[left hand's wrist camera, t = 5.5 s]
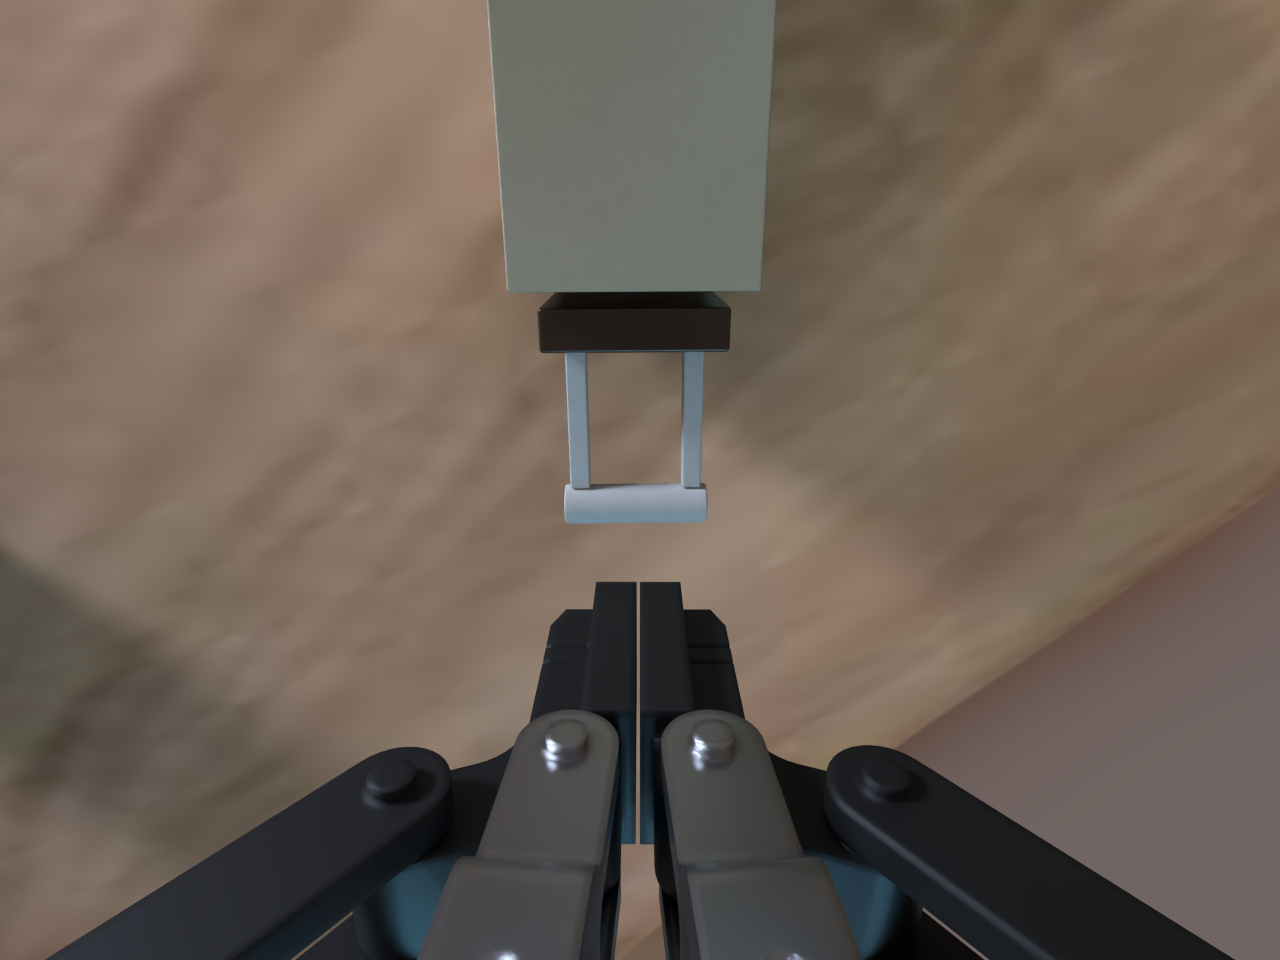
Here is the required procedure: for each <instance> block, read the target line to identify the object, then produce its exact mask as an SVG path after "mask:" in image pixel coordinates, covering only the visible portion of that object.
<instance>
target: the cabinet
mask: <svg viewBox="0 0 1280 960" xmlns="http://www.w3.org/2000/svg"><path fill="white" fill-rule="evenodd" d="M776 2H777V0H487V9H488V23H489V38H490V52H491V66H492V81H493V95H494V109H495V124H496V138H497V152H498V167H499V181H500V195H501V210H502V224H503V238H504V253H505V267H506V281H507V291H508V292H653V291H760V290H761V282H762V263H763V244H764V226H765V207H766V189H767V170H768V151H769V133H770V114H771V95H772V77H773V58H774V40H775V21H776Z"/></svg>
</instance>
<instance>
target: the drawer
mask: <svg viewBox="0 0 1280 960" xmlns="http://www.w3.org/2000/svg"><path fill="white" fill-rule="evenodd" d="M730 323H731V309H730V307H729V306H728V305H727V304H725V303H724V302H723V301H722V300H721V299H720V298H719V297H718V296H717V295H716V294H715V293H714V292H713V291H653V292H555V293H554V294H553V295H552V296H551V297H550V298H549V299H548V300H547V301H546V302H545V303H544V304H543V305H542V306H541V307H540V308H539V309H538V328H539V346H540V351H541V352H542V353H565V362H566V385H567V409H568V432H569V455H570V479H571V484H567V485H566V487H565V495H564V511H565V520H566V523H659V522H705V521H706V519H707V489H706V485H705V483H701V448H702V411H703V373H704V352H727V351H728V350H729V348H730ZM625 352H683V361H682V423H681V483H655V484H590V483H591V474H590V443H589V411H588V380H587V353H625Z"/></svg>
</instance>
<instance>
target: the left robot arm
mask: <svg viewBox="0 0 1280 960" xmlns="http://www.w3.org/2000/svg"><path fill="white" fill-rule="evenodd" d="M636 703H637V589H636V582H596V588H595V596H594V605H593V609H566V610H565V611H564V612H563V613H562V614H561V616H560V617H559V618H558V619H557V620H556V621H555V622H554V623H553V624H552V625H551V627H550V632H549V636H548V641H547V648H546V650H545V655H544V659H543V664H542V668H541V673H540V677H539V682H538V687H537V691H536V696H535V700H534V705H533V709H532V714H531V719H530V723H529V724H528V725H527V726H525V727H524V728H523V729H522V731H521V732H520V733H519V735H518V737H517V739H516V741H515V744H514V746H513V747H512V748H510V749H509V750H507V751H506V752H504V753H503V754H501V755H499V756H497V757H495V758H492V759H490V760H488V761H485V762H481V763H478V764H474V765H470V766H466V767H462V768H458V769H454V770H450V768H449V766H448V764H447V762H446V761H445V759H444V758H442V757H441V756H440V755H439V754H437V753H435V752H434V751H431V750H428V749H425V748H419V747H401V748H394V749H389V750H386V751H383V752H380V753H377V754H375V755H373V756H370V757H368V758H367V759H365V760H363V761H361V762H360V763H358V764H356V765H355V766H353V767H352V768H350V769H348V770H347V771H345V772H344V773H342V774H340V775H339V776H337V777H336V778H334V779H332V780H331V781H329V782H328V783H326V784H325V785H323V786H321V787H320V788H318V789H317V790H315V791H313V792H312V793H310V794H309V795H307V796H305V797H304V798H302V799H301V800H299V801H297V802H296V803H294V804H293V805H291V806H289V807H288V808H286V809H285V810H283V811H281V812H280V813H278V814H277V815H275V816H274V817H272V818H270V819H269V820H267V821H266V822H264V823H262V824H261V825H259V826H258V827H256V828H254V829H253V830H251V831H250V832H248V833H246V834H245V835H243V836H242V837H240V838H238V839H237V840H235V841H234V842H232V843H230V844H229V845H227V846H226V847H224V848H223V849H221V850H219V851H218V852H216V853H215V854H213V855H211V856H210V857H208V858H207V859H205V860H203V861H202V862H200V863H199V864H197V865H195V866H194V867H192V868H191V869H189V870H187V871H186V872H184V873H183V874H181V875H179V876H178V877H176V878H175V879H173V880H171V881H170V882H168V883H167V884H165V885H164V886H162V887H160V888H159V889H157V890H156V891H154V892H152V893H151V894H149V895H148V896H146V897H144V898H143V899H141V900H140V901H138V902H136V903H135V904H133V905H132V906H130V907H128V908H127V909H125V910H124V911H122V912H120V913H119V914H117V915H116V916H114V917H113V918H111V919H109V920H108V921H106V922H105V923H103V924H101V925H100V926H98V927H97V928H95V929H93V930H92V931H90V932H89V933H87V934H85V935H84V936H82V937H81V938H79V939H77V940H76V941H74V942H73V943H71V944H69V945H68V946H66V947H65V948H63V949H62V950H60V951H58V952H57V953H55V954H54V955H52V956H50V957H49V958H47V959H46V960H291V959H292V958H293V957H294V956H296V955H297V954H298V953H299V952H301V951H302V950H303V949H305V948H306V947H307V946H308V945H310V944H311V943H312V942H313V941H315V940H316V939H317V938H318V937H320V936H321V935H322V934H323V933H325V932H326V931H327V930H329V929H330V928H331V927H332V926H334V925H335V924H336V923H337V922H339V921H340V920H341V919H342V918H344V917H345V916H346V915H347V914H349V913H350V912H351V911H353V915H351V916H350V917H349V918H348V919H346V920H345V921H344V922H343V923H341V924H340V925H339V926H338V927H336V928H335V929H334V930H333V931H331V932H330V933H329V934H328V935H326V936H325V937H324V938H323V939H321V940H320V941H319V942H318V943H316V944H315V945H314V946H312V947H311V948H310V949H309V950H307V951H306V952H305V953H304V954H302V955H301V956H300V957H299V958H297V959H296V960H614V956H615V947H616V938H617V929H618V920H619V911H620V902H621V844H635V840H636ZM640 844H654V862H655V874H656V877H657V880H658V883H659V902H660V911H661V920H662V929H663V937H664V947H665V956H666V960H984V959H983V958H981V957H980V956H979V955H978V954H976V953H975V952H974V951H972V950H971V949H970V948H969V947H967V946H966V945H965V944H964V943H962V942H961V941H960V940H959V939H957V938H956V937H955V936H954V935H952V934H951V933H950V932H949V931H947V930H946V929H945V928H944V927H942V926H941V925H940V924H939V923H937V922H936V921H935V920H934V919H932V918H931V917H930V916H929V915H927V914H926V913H925V912H924V911H922V910H923V907H924V908H925V909H926V910H927V911H929V912H930V913H931V914H933V915H934V916H935V917H936V918H938V919H939V920H940V921H941V922H943V923H944V924H945V925H947V926H948V927H949V928H950V929H951V930H953V931H954V932H955V933H957V934H958V935H959V936H960V937H962V938H963V939H964V940H965V941H967V942H968V943H969V944H970V945H972V946H973V947H974V948H975V949H977V950H978V951H979V952H981V953H982V954H983V955H984V956H986V957H987V958H988V959H989V960H1234V959H1233V958H1231V957H1230V956H1228V955H1226V954H1225V953H1223V952H1222V951H1220V950H1218V949H1217V948H1215V947H1214V946H1212V945H1210V944H1209V943H1207V942H1206V941H1204V940H1203V939H1201V938H1199V937H1198V936H1196V935H1195V934H1193V933H1191V932H1190V931H1188V930H1187V929H1185V928H1183V927H1182V926H1180V925H1179V924H1177V923H1175V922H1174V921H1172V920H1170V919H1169V918H1167V917H1166V916H1164V915H1163V914H1161V913H1159V912H1158V911H1156V910H1155V909H1153V908H1152V907H1150V906H1148V905H1147V904H1145V903H1144V902H1142V901H1140V900H1139V899H1137V898H1136V897H1134V896H1132V895H1131V894H1129V893H1128V892H1126V891H1124V890H1123V889H1121V888H1120V887H1118V886H1116V885H1115V884H1113V883H1112V882H1110V881H1108V880H1107V879H1105V878H1104V877H1102V876H1100V875H1099V874H1097V873H1096V872H1094V871H1093V870H1091V869H1089V868H1088V867H1086V866H1085V865H1083V864H1081V863H1080V862H1078V861H1077V860H1075V859H1073V858H1072V857H1070V856H1069V855H1067V854H1065V853H1064V852H1062V851H1061V850H1059V849H1057V848H1056V847H1054V846H1053V845H1051V844H1050V843H1048V842H1046V841H1045V840H1043V839H1042V838H1040V837H1038V836H1037V835H1035V834H1033V833H1032V832H1030V831H1029V830H1027V829H1026V828H1024V827H1022V826H1021V825H1019V824H1018V823H1016V822H1014V821H1013V820H1011V819H1010V818H1008V817H1006V816H1005V815H1003V814H1002V813H1000V812H998V811H997V810H995V809H994V808H992V807H991V806H989V805H987V804H986V803H984V802H982V801H981V800H979V799H978V798H976V797H975V796H973V795H971V794H970V793H968V792H967V791H965V790H963V789H962V788H960V787H959V786H957V785H955V784H954V783H952V782H951V781H949V780H947V779H946V778H944V777H943V776H941V775H939V774H938V773H936V772H935V771H933V770H932V769H930V768H928V767H927V766H925V765H924V764H922V763H920V762H919V761H917V760H916V759H914V758H912V757H910V756H908V755H906V754H904V753H902V752H899V751H897V750H893V749H890V748H886V747H881V746H872V745H863V746H855V747H851V748H848V749H845V750H843V751H841V752H839V753H838V754H837V755H835V756H834V757H833V758H832V760H831V761H830V763H829V765H828V768H827V771H824V770H820V769H816V768H812V767H808V766H804V765H800V764H796V763H793V762H790V761H787V760H784V759H782V758H780V757H778V756H776V755H774V754H772V753H770V752H769V751H768V750H767V747H766V744H765V741H764V739H763V737H762V735H761V733H760V732H759V731H758V729H757V728H756V727H755V726H753V725H752V724H751V723H750V722H748V721H747V720H745V716H744V712H743V707H742V702H741V697H740V693H739V688H738V683H737V678H736V674H735V669H734V664H733V659H732V655H731V650H730V648H729V640H728V635H727V631H726V626H725V625H724V624H723V623H722V622H721V621H720V619H719V618H718V617H717V616H716V615H715V614H714V613H713V612H712V611H711V610H683V602H682V593H681V585H680V582H640Z"/></svg>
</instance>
